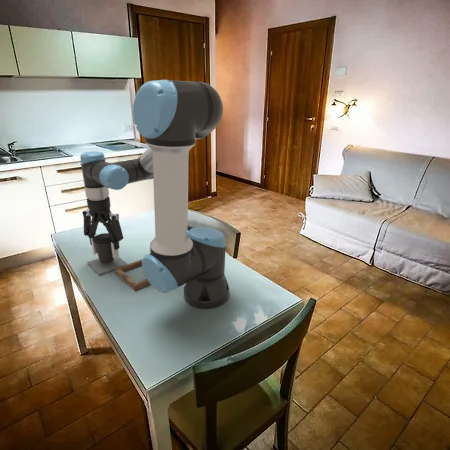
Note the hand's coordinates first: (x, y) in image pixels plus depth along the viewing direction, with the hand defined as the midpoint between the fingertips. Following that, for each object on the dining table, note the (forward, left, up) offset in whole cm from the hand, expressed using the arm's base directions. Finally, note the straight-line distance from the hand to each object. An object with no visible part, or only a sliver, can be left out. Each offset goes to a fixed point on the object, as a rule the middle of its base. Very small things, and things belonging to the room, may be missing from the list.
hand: (106, 254), depth 120 cm
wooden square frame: (-15, -7, -5) cm, 17 cm away
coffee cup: (0, 0, -2) cm, 2 cm away
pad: (0, 0, -5) cm, 5 cm away
